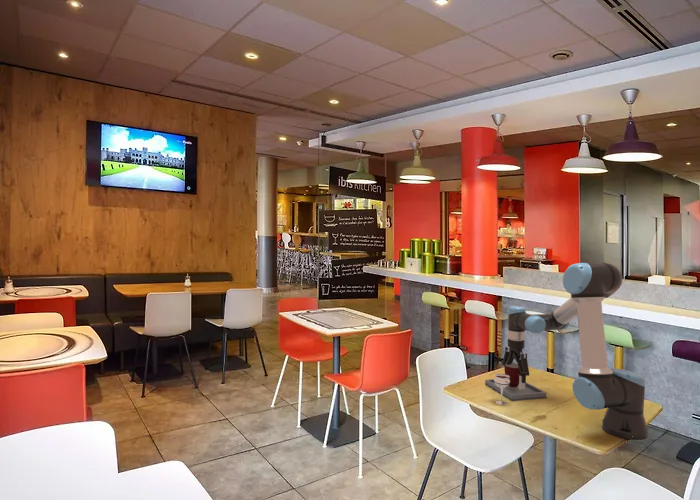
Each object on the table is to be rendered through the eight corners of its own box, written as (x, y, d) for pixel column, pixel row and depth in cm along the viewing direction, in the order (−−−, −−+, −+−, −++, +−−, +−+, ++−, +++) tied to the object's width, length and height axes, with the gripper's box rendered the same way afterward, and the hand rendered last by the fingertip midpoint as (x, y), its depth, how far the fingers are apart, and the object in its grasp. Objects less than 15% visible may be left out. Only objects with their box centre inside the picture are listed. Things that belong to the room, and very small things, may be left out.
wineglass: (503, 399, 205) (504, 373, 205) (512, 404, 199) (513, 377, 198) (490, 400, 204) (491, 374, 203) (498, 406, 197) (499, 378, 197)
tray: (546, 397, 208) (546, 392, 208) (511, 400, 203) (511, 395, 203) (516, 382, 229) (517, 377, 229) (485, 384, 225) (485, 379, 225)
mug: (529, 389, 213) (529, 368, 212) (514, 391, 210) (515, 370, 210) (514, 382, 223) (515, 362, 222) (500, 384, 220) (501, 363, 220)
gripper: (538, 344, 205) (537, 393, 206) (508, 333, 227) (507, 377, 228) (524, 345, 203) (522, 394, 204) (495, 334, 225) (494, 378, 226)
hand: (514, 385), depth 216 cm, fingers closed on mug, 10 cm apart
